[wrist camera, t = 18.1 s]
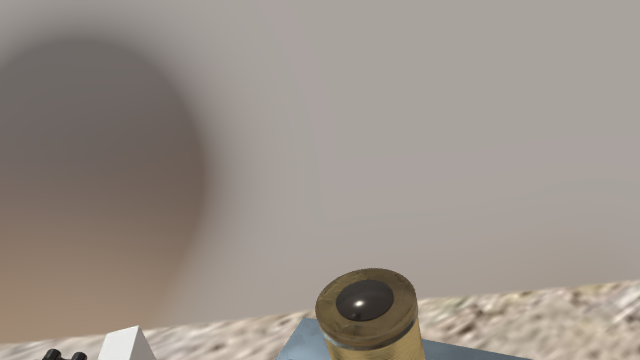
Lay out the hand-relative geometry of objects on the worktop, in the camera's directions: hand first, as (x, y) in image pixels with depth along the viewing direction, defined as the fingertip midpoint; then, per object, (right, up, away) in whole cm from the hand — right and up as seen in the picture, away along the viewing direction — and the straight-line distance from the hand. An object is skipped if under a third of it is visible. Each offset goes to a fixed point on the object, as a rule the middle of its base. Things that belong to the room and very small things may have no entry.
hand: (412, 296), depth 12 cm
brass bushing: (+3, -15, +19) cm, 24 cm away
